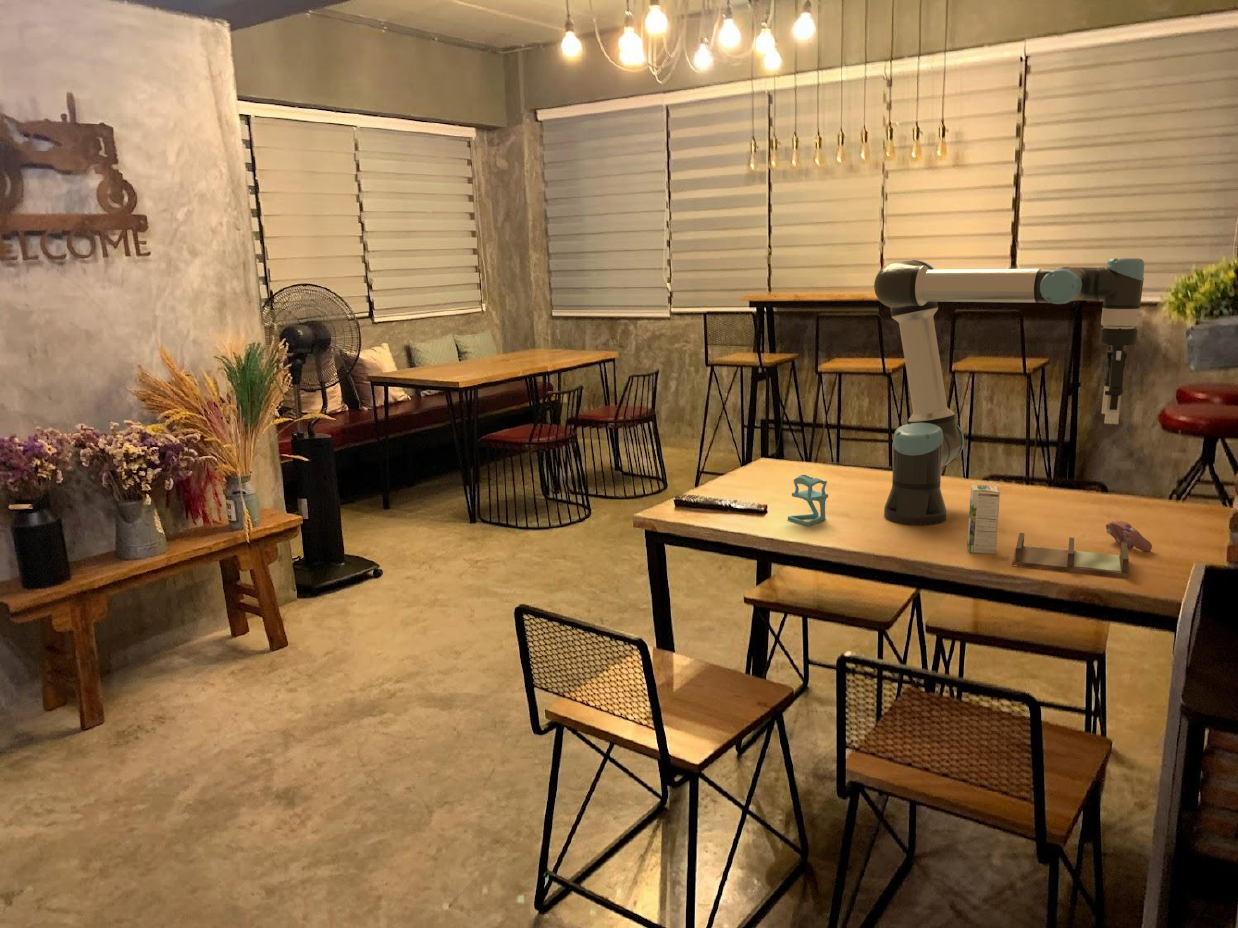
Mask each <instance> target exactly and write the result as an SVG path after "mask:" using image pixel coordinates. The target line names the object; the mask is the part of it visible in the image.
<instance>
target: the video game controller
mask: <svg viewBox="0 0 1238 928" xmlns="http://www.w3.org/2000/svg"><path fill="white" fill-rule="evenodd" d="M1105 529H1106V533H1107V534H1108V535H1110V536H1111V537H1112V538H1113V539H1114V540H1115V542H1116V543H1117V544H1118V545H1120V546H1121V542H1124V543H1127V550H1131V549H1133V548H1136V549H1138V550H1140V551H1142V552H1145V553H1150V552H1151V551H1152V549H1153V546H1152V543H1151V542H1150V541H1149V540H1148V539H1146V537H1144V536H1143V535H1142V534H1141V533H1140V531H1138V530H1137V529H1136V528H1135V527H1133V526H1132V525H1131V524H1130V523H1129V522H1127V521H1123V520H1117V519H1115V520H1113V521H1111V522H1109V523H1106V524H1105Z"/></svg>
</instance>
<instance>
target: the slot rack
mask: <svg viewBox="0 0 1238 928" xmlns="http://www.w3.org/2000/svg"><path fill="white" fill-rule="evenodd" d="M1024 544H1025V532H1019V534H1018V538H1017V541H1016V545H1015V549H1014V554H1013V558H1012V561H1011V564H1012V565H1017V566H1016V567H1020V566H1022V567H1023V568H1029V567H1030V568H1032V569H1038V568H1041V569H1040V570H1047V569H1048V570H1049V571H1058V572H1067V573H1075V572H1076V574H1084V575H1085V574H1087V575H1095V576H1104V577H1110V578H1111V577H1114V578H1121V577H1122V578H1121V579H1130V578H1131V569H1130V562H1129V551H1128V550H1129V549H1128V548H1127V543H1124V542H1121V545H1120V552H1119V554H1108V553H1099V552H1089V551H1080V550H1075V537H1069V539H1068V547H1067V548H1068V550H1067V549H1058V548H1057V549H1055V548H1050V547H1049V548H1047V547H1040V546H1039V547H1036V546H1028V545H1024ZM1012 565H1011V566H1012ZM1030 568H1029V569H1030Z"/></svg>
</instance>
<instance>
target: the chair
mask: <svg viewBox="0 0 1238 928" xmlns="http://www.w3.org/2000/svg"><path fill="white" fill-rule="evenodd" d="M827 483H828V480H823V479H821V478H819V477H811V476H808V475H807V474H800V475H799V476H797V477H795V478H793V484H794V488H795V490H794V492H792V493H791V497H793V498H799V499H802V500H804V501H806V502H807V504H808V506H809V508H810V509H811V511H812V513H809V514H807V513H806V514H796V515H794V514H793V515H788V516H787V520H788V521H789V520H790V522H793V523H796V524H798V525H799V524H800V525H803V526H805V527H811V526H813V525H816V524H817V523H820V522H822V521H825V520H826V501H827V499H828V498H829V493H826V487H827ZM817 484H821V485H822V487H821V489H820V490H821V492H820V491H818V490H817V491H816V490H814V489H813V487H814V486H816V485H817ZM799 485H803V486H805V487H806V488H807V490H802V491H800V490H799V489H800V488H799ZM813 501H816V502H818V503H819V509H820V510H819V511H820V514H819V512H818V509H817V507H816V506H815V504H814V502H813ZM803 519H811V520H809V521H805V520H803Z"/></svg>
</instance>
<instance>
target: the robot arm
mask: <svg viewBox="0 0 1238 928" xmlns="http://www.w3.org/2000/svg"><path fill="white" fill-rule="evenodd" d="M1144 275H1145V261H1144V260H1143V259H1142V258H1139V257H1137V258H1136V257H1133V258H1132V257H1131V258H1129V257H1127V258H1126V257H1121V258H1119V257H1117V258H1114V257H1113V258H1112V257H1111V258H1109V259H1108V261H1107V263H1106V265H1105V266H1102V267H1101V266H1100V267H1092V266H1091V267H1090V266H1089V267H1088V266H1085V267H1084V266H1083V267H1081V266H1080V267H1079V266H1078V267H1077V266H1073V267H1072V266H1062V267H1053V268H997V269H996V268H993V269H992V268H990V269H989V268H988V269H987V268H985V269H983V268H976V269H975V268H974V269H967V268H966V269H965V268H964V269H962V268H961V269H935V267H933V266H932V265H930V264H929V263H928V262H925V261H922V260H918V259H917V260H916V259H913V260H904V261H901V260H900V261H893V262H890V263H888V264H886V265H884V266H883V267H882V268H881V269H880V270H879V271H878V272H877V274H876V275H875V278H874V282H873V283H874V284H873V288H874V293H875V296H876V298H877V300H878V301H879V302H880V303H881V304H882V305H884V306H886V307H888V308H890V315H891V318H892V319H893V320H895V321H896V322H897V323H898V325H899V330H900V339H901V345H902V350H903V357H904V364H905V369H906V376H907V382H908V383H907V384H908V388H909V395H910V401H911V408H912V414H911V415H910V417H909V418H908V421H907V422H908V423H907V424H903V425H900V426H899V427H897V428H896V430H895V431H894V434H893V439H892V447H893V448H892V449H893V450H892V477H891V478H892V483H891V485H892V486H891V488H890V492H889V494H888V497H887V499H886V502H885V505H884V509H883V510H884V511H883V516H884V518H885V519H887V520H889V521H891V522H894V523H898V524H904V525H914V526H928V525H937V524H941V523H943V522H945V521H947V507H946V504H945V499H944V497H943V494H942V490H941V483H942V481H941V478H942V477H941V476H942V468H943V467H945V466H948V465H949V464H951V463H953V462H954V461H955V460H956V459H957V458H958V457H959V456H960V455H961V453H962V450H963V449H964V445H965V436H964V432H963V430H962V428H961V427H960V426H959V425H958V424H957V422H956V415H955V412H954V411H953V410H951V408H949V407H948V404H947V396H946V390H945V385H944V384H945V383H944V376H943V371H942V364H941V358H940V353H939V352H940V351H939V347H938V345H939V344H938V339H937V332H936V328H935V320H934V316H935V314H936V313H937V311H938V310H939V304H938V302H941V303H942V302H943V303H945V302H946V303H948V302H949V303H950V302H953V303H957V302H958V303H959V302H960V303H972V302H973V303H1039V304H1040V303H1041V304H1043V303H1044V304H1053V305H1064V304H1068V303H1071V302H1075V301H1103V304H1102V308H1101V309H1102V312H1101V318H1100V320H1101V321H1100V325H1101V326H1102V327H1101V328H1100V332H1099V341H1098V342H1099V344H1101V345H1106V346H1108V351H1106V353H1105V360H1106V361H1105V367H1106V369H1105V376H1104V379H1103V380H1104V383H1103V384H1104V386H1103V396H1102V405H1101V406H1102V407H1101V414H1102V415H1103V414H1104V424H1107V425H1109V424H1110V425H1119V418H1120V412H1121V411H1120V408H1121V400H1122V394H1123V391H1124V390H1123V381H1124V371H1125V366H1126V360H1127V357H1128V356H1127V355H1128V353H1127V352H1126V351H1125V350H1124V346H1134V345H1136V344H1137V340H1138V331H1139V330H1138V328H1135V327H1137V326H1138V325H1139V318H1141V317H1142V316H1143V313H1142V312H1140V309H1141V303H1142V302H1141V301H1142V295H1143V286H1144V280H1145V278H1144V277H1145V276H1144Z"/></svg>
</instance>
